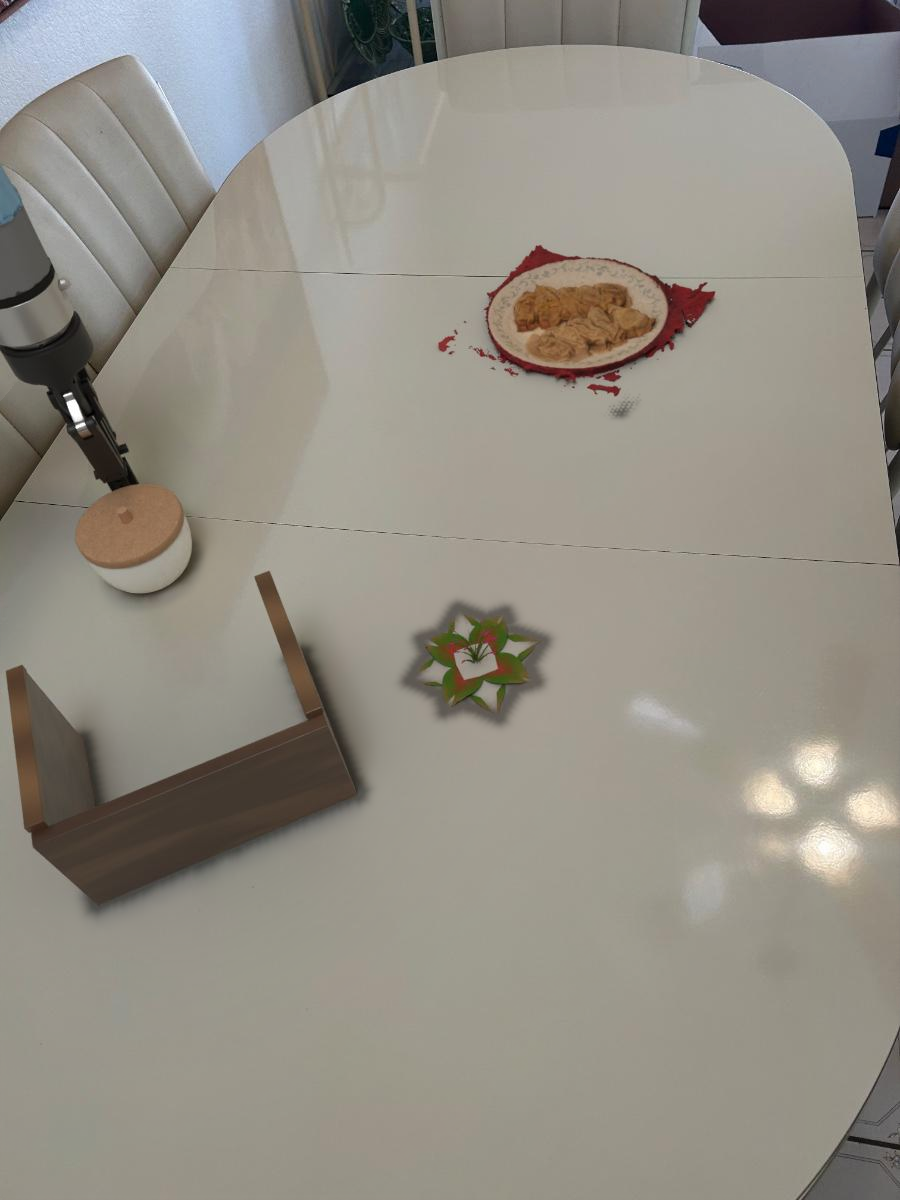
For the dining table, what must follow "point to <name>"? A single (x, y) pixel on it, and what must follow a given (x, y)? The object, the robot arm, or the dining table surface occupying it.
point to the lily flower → (480, 634)
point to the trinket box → (136, 538)
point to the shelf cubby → (170, 787)
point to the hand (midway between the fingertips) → (137, 508)
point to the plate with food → (584, 316)
